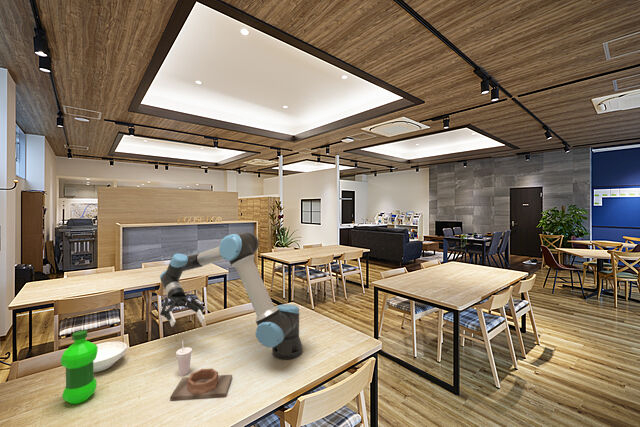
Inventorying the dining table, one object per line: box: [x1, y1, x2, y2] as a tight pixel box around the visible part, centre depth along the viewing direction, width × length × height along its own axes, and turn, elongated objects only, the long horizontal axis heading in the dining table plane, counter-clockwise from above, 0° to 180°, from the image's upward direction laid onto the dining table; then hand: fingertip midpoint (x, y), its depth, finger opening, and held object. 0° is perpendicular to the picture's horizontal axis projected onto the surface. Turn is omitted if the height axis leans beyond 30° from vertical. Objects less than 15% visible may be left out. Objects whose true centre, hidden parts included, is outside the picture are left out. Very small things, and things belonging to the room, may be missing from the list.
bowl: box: [93, 341, 128, 373], centre depth 126 cm, size 20×20×7 cm
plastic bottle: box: [60, 329, 98, 405], centre depth 104 cm, size 10×10×25 cm
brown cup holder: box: [169, 368, 233, 402], centre depth 111 cm, size 20×12×5 cm, turn 97°
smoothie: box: [175, 340, 193, 376], centre depth 121 cm, size 6×6×14 cm
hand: (188, 322), depth 128 cm, fingers open, 13 cm apart
